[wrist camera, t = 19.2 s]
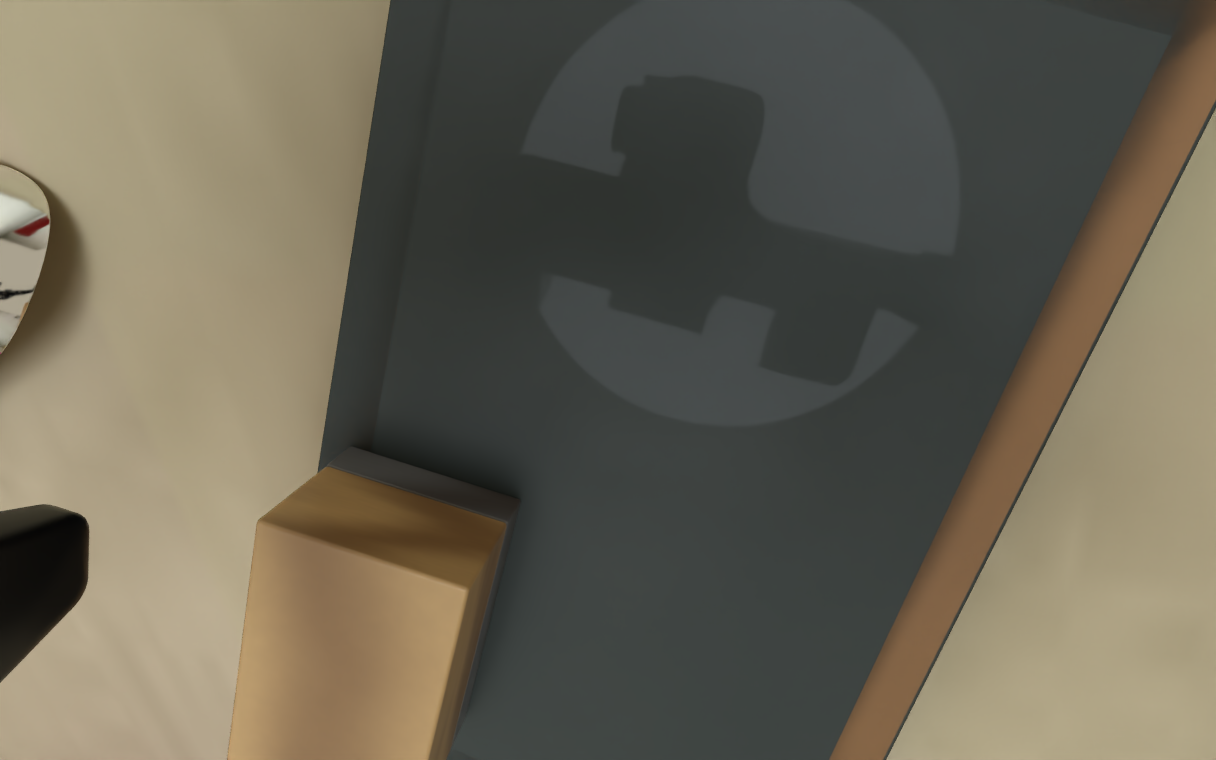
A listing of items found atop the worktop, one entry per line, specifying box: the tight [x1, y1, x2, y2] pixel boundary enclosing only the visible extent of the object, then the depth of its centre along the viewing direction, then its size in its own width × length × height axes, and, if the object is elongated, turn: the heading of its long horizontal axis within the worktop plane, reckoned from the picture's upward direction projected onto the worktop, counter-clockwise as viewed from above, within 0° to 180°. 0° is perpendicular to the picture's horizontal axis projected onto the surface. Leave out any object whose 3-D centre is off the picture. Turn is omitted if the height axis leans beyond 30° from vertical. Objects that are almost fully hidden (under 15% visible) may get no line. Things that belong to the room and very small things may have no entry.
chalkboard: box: [318, 0, 1216, 760], centre depth 18 cm, size 16×24×1 cm, turn 165°
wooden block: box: [227, 447, 521, 760], centre depth 18 cm, size 4×7×4 cm, turn 165°
